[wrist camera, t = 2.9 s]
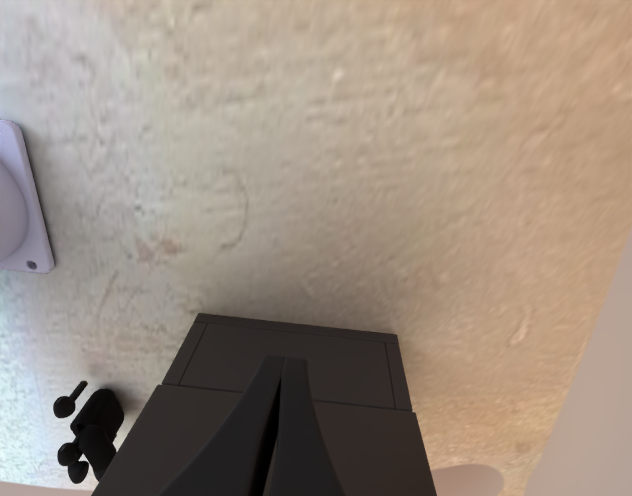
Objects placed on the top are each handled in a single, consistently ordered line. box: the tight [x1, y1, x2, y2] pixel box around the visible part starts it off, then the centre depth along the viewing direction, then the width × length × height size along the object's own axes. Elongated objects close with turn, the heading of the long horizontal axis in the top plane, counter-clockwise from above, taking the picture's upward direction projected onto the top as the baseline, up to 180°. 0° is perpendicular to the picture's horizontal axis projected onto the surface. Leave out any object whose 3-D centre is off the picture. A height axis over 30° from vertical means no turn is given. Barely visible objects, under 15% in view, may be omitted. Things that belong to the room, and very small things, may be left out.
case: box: [162, 313, 412, 412], centre depth 22 cm, size 10×12×5 cm
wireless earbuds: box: [53, 380, 124, 484], centre depth 24 cm, size 7×2×5 cm, turn 8°
